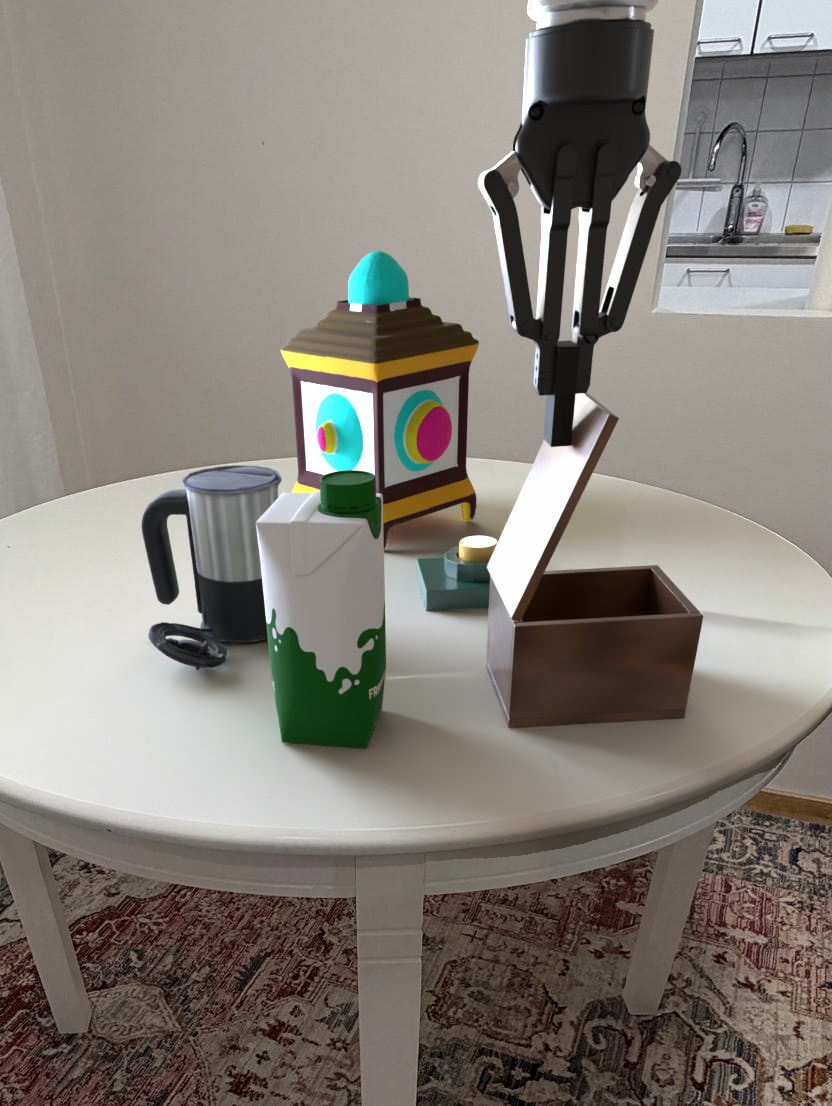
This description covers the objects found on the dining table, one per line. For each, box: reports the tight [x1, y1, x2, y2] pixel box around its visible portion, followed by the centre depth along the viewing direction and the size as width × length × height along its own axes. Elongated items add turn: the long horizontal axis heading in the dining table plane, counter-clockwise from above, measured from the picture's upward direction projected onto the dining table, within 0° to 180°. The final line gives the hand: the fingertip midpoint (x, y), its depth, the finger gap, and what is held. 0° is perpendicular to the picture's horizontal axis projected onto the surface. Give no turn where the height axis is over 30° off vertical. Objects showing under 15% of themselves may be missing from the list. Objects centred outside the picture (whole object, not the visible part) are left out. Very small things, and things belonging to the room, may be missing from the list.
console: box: [416, 545, 490, 612], centre depth 102 cm, size 12×10×4 cm
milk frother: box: [140, 465, 283, 671], centre depth 90 cm, size 14×16×15 cm
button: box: [458, 535, 498, 562], centre depth 100 cm, size 4×4×2 cm
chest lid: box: [487, 392, 620, 622], centre depth 73 cm, size 15×12×1 cm
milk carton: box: [256, 470, 387, 749], centre depth 74 cm, size 9×9×20 cm
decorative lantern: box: [280, 250, 480, 551], centre depth 115 cm, size 20×20×30 cm
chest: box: [485, 564, 704, 729], centre depth 80 cm, size 15×12×9 cm
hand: (556, 441), depth 71 cm, fingers closed
